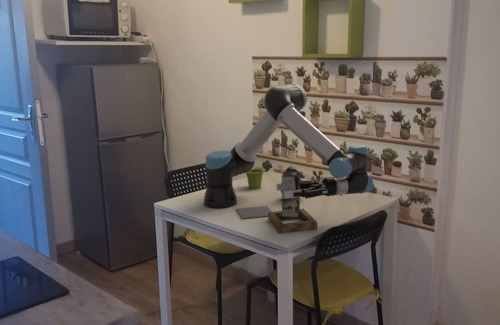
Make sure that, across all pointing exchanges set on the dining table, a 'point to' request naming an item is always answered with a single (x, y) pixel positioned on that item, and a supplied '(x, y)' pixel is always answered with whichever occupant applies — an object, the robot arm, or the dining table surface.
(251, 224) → the dining table surface
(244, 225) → the dining table surface
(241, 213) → the grey rubber mat
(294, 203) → the coffee box
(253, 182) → the plant pot
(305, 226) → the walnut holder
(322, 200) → the dining table surface
